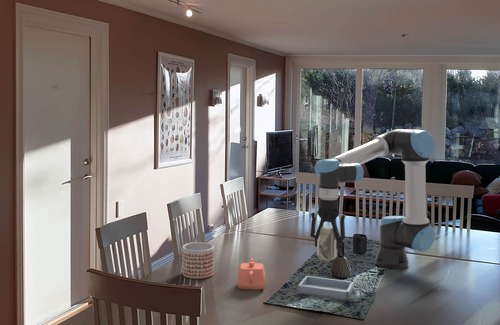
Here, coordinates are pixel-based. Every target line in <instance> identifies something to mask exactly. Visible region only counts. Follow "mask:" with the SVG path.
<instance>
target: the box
mask: <svg viewBox="0 0 500 325" xmlns="http://www.w3.org/2000/svg"><path fill="white" fill-rule="evenodd" d="M319 238H320V243H319V256H318V259H319V260H322V261H327V262H330V261H333V260H335V259H336V258H335V257H334V241H335V240H336V237H335V234H334V230H333V227H332V226H329V225H328V226H327V225H325V226H324V225H323V227H322V228H321V230H320V235H319Z"/></svg>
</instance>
